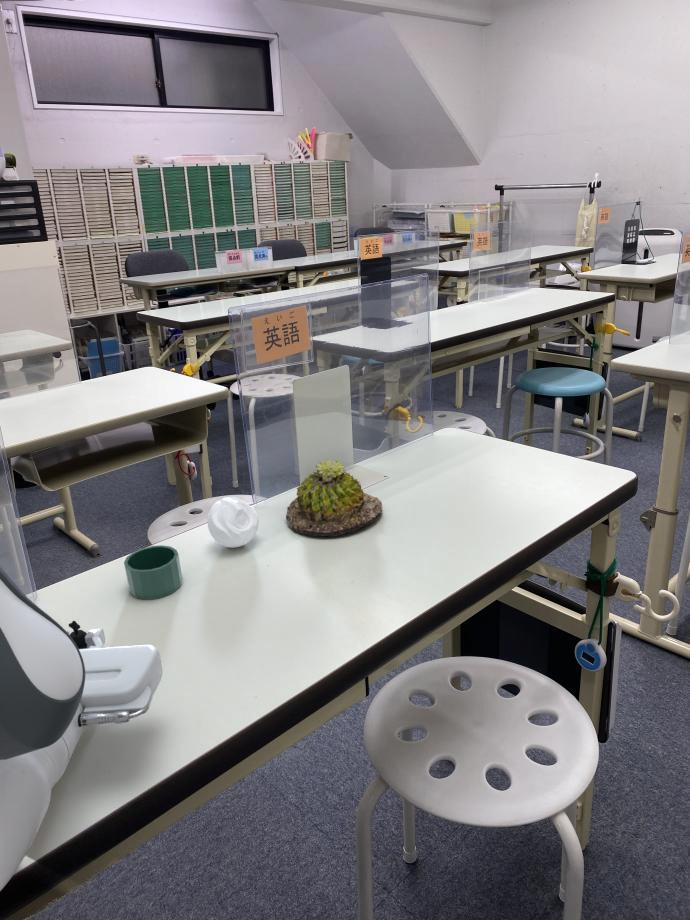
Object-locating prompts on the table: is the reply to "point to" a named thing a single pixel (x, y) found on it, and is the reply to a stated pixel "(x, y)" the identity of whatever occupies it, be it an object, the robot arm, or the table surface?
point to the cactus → (331, 503)
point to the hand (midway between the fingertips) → (80, 635)
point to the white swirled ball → (232, 522)
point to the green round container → (153, 572)
